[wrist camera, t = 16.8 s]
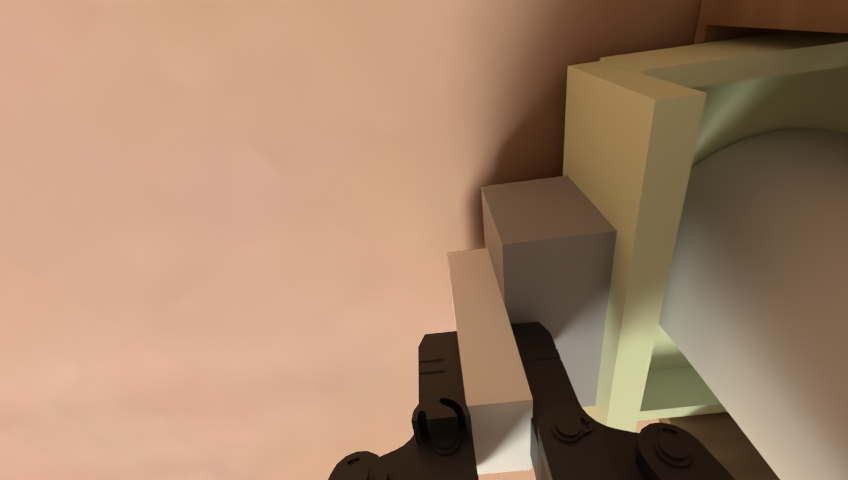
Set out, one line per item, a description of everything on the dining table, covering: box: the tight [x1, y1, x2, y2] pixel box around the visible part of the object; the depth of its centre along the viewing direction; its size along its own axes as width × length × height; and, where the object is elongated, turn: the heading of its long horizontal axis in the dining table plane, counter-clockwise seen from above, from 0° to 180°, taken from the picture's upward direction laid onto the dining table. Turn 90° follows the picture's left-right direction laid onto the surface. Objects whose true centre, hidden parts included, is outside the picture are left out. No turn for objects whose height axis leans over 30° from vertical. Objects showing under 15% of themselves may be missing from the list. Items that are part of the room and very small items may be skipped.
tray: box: [481, 30, 848, 432], centre depth 14 cm, size 14×20×5 cm
